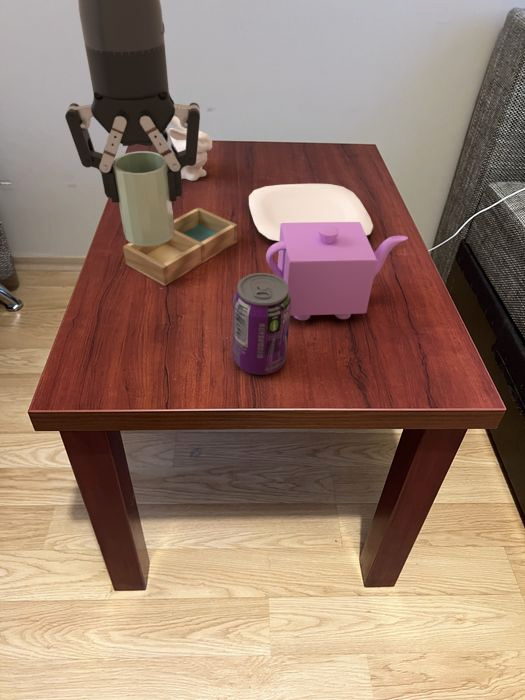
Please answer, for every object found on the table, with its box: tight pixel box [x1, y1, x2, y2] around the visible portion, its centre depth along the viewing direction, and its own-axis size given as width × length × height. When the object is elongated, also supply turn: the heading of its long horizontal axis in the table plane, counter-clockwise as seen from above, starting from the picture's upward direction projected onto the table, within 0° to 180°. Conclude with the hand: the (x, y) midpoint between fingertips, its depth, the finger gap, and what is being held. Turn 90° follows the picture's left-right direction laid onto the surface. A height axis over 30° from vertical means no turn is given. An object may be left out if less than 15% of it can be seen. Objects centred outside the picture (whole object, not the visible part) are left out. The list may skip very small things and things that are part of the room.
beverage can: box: [232, 272, 291, 375], centre depth 69 cm, size 7×7×12 cm
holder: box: [122, 207, 238, 287], centre depth 90 cm, size 17×9×3 cm, turn 142°
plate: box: [248, 183, 374, 243], centre depth 101 cm, size 22×22×2 cm
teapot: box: [265, 222, 409, 321], centre depth 79 cm, size 20×10×12 cm, turn 95°
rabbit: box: [167, 116, 213, 182], centre depth 109 cm, size 12×9×12 cm
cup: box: [113, 150, 175, 246], centre depth 63 cm, size 6×6×9 cm
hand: (145, 198), depth 63 cm, fingers closed on cup, 6 cm apart
